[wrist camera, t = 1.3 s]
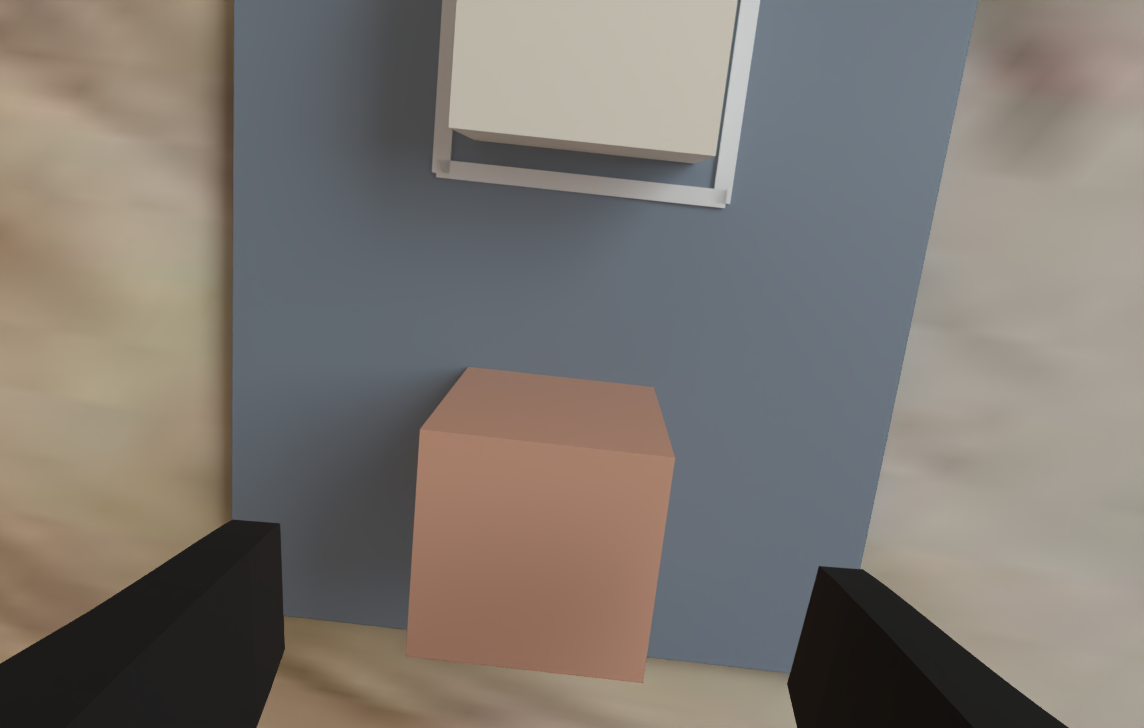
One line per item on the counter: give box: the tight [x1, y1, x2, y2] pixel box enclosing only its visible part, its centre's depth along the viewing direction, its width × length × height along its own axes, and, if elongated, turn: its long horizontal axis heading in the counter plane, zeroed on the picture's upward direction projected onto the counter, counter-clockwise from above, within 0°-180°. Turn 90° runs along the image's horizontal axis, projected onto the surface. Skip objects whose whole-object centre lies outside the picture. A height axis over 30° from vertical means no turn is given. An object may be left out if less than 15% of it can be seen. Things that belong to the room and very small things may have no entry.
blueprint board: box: [232, 0, 978, 673], centre depth 16 cm, size 20×16×4 cm
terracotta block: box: [406, 367, 675, 683], centre depth 16 cm, size 4×4×5 cm
